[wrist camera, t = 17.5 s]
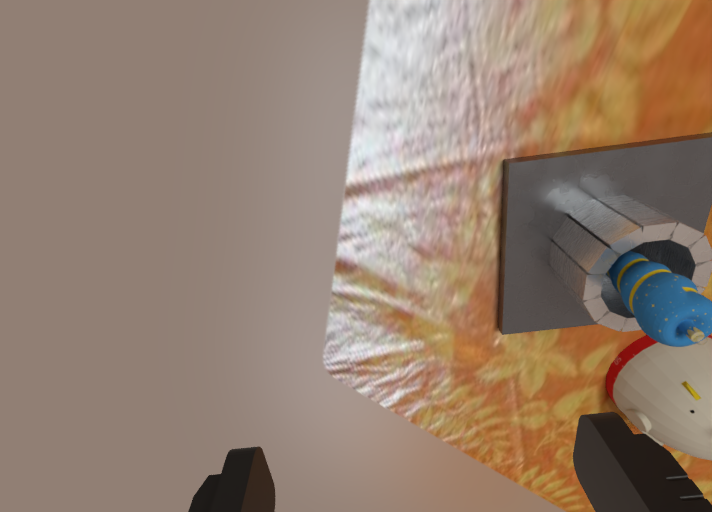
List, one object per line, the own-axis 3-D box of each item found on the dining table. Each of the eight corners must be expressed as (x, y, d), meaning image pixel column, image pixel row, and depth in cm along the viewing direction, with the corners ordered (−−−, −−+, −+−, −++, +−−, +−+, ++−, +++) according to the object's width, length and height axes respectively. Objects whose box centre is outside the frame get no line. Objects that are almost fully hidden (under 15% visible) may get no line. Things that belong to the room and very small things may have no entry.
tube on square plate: (503, 159, 39) (540, 185, 32) (717, 131, 38) (808, 151, 31) (497, 326, 48) (525, 378, 41) (671, 307, 47) (732, 356, 40)
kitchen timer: (698, 307, 48) (835, 407, 34) (733, 376, 53) (864, 487, 39) (587, 365, 51) (671, 476, 38) (629, 424, 56) (716, 541, 43)
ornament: (636, 249, 42) (761, 343, 29) (591, 278, 44) (689, 380, 31) (610, 215, 40) (729, 299, 27) (565, 247, 42) (655, 341, 29)
